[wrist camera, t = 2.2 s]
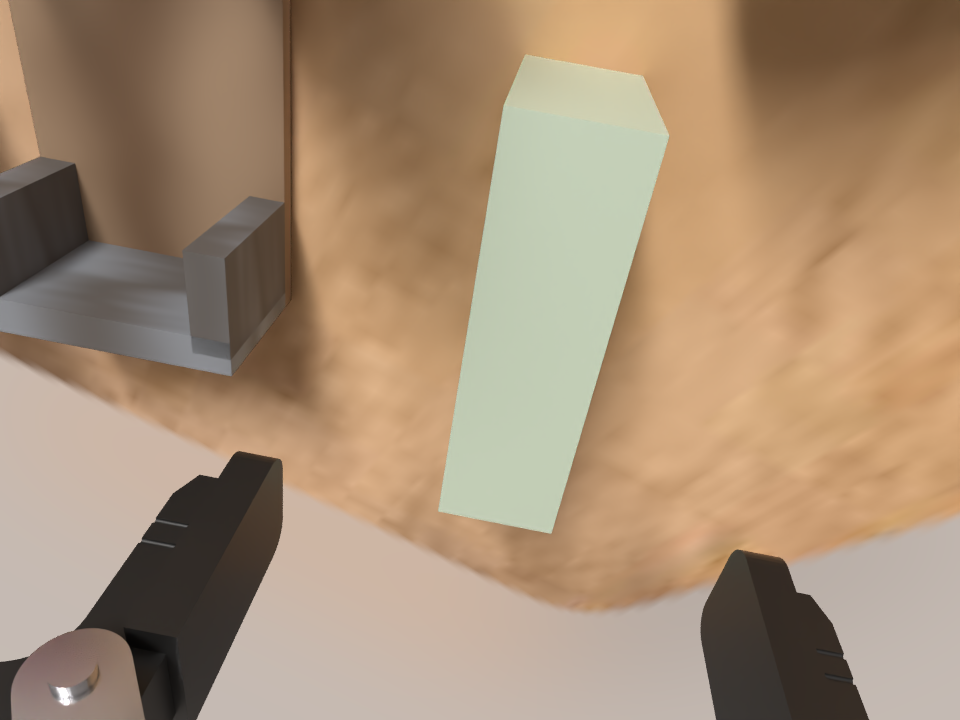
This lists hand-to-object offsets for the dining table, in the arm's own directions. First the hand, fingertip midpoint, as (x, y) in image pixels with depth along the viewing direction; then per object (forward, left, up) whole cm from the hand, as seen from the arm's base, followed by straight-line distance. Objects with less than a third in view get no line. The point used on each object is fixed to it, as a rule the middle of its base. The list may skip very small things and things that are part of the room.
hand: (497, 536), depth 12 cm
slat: (0, 0, -13) cm, 13 cm away
